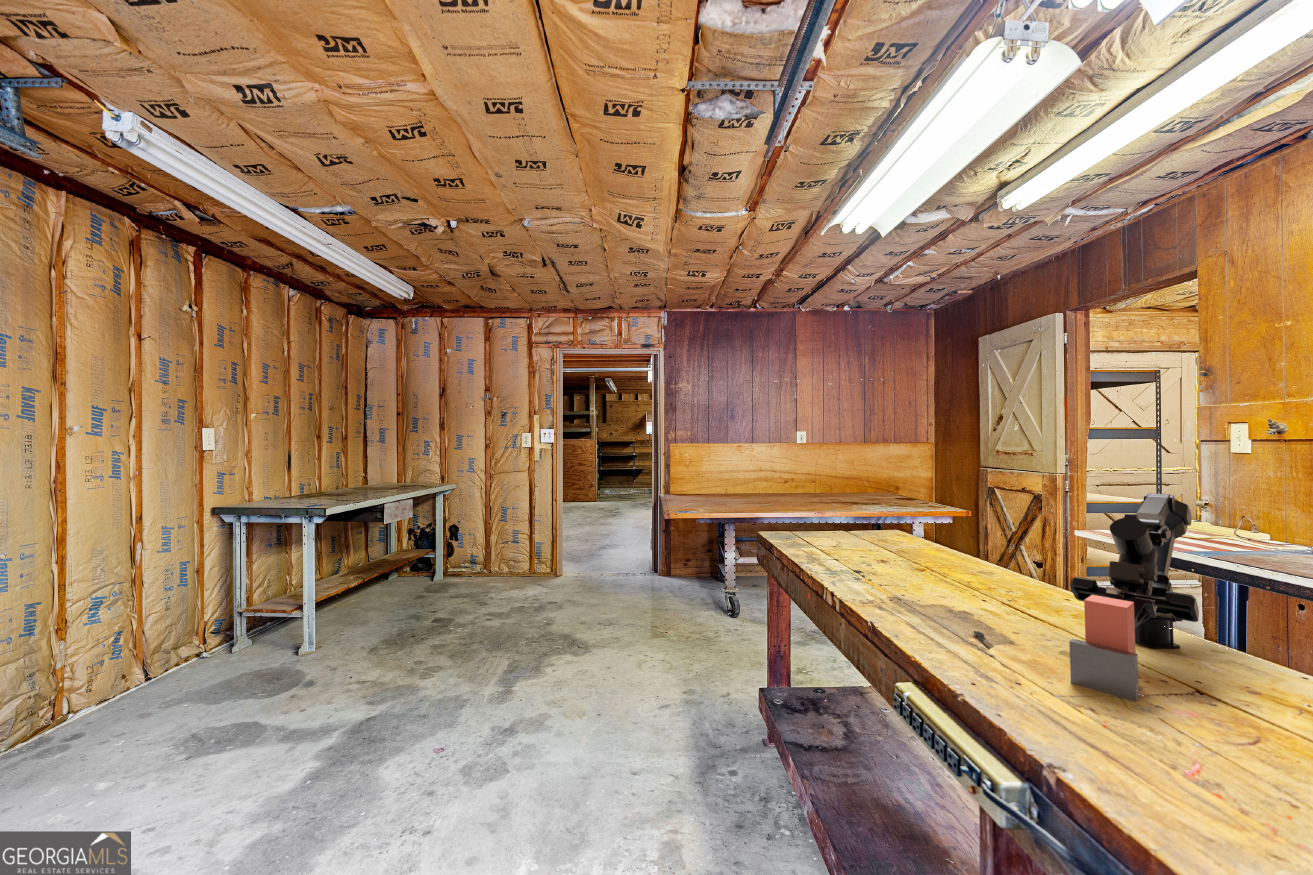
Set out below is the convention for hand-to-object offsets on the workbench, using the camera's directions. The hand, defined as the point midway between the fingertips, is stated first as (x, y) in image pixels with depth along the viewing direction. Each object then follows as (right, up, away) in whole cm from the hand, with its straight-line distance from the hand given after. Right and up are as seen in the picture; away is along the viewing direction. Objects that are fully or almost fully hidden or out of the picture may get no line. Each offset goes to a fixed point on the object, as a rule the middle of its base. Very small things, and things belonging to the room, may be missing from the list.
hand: (1124, 634), depth 101 cm
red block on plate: (-8, -6, -6) cm, 12 cm away
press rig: (-7, -8, -5) cm, 12 cm away
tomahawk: (-17, -9, +11) cm, 22 cm away
